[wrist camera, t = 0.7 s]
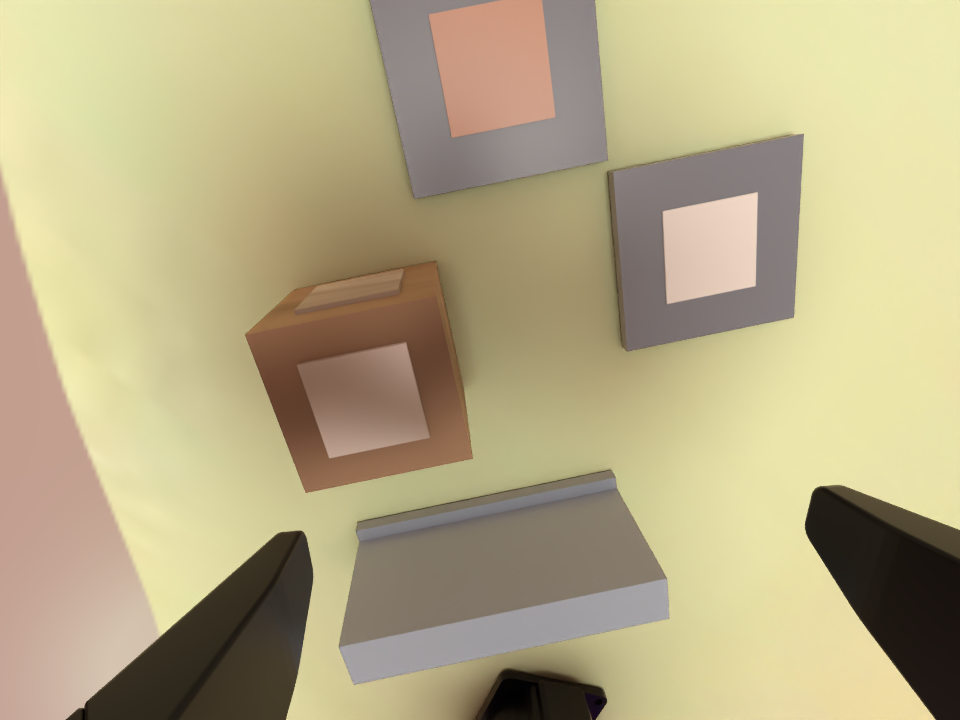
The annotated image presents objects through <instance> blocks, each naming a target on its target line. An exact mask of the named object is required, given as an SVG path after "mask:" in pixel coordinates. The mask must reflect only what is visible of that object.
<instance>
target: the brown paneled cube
mask: <svg viewBox="0 0 960 720" xmlns="http://www.w3.org/2000/svg"><path fill="white" fill-rule="evenodd" d="M245 336H246V338H247V341H248V344H249V346H250V349H251V352H252V354H253V357H254V359H255V362H256V365H257V367H258V370H259V372H260V375H261V378H262V380H263V383H264V385H265V388H266V391H267V393H268V396H269V398H270V401H271V404H272V406H273V409H274V412H275V414H276V417H277V419H278V422H279V425H280V427H281V430H282V432H283V435H284V438H285V440H286V443H287V445H288V448H289V451H290V453H291V456H292V458H293V461H294V464H295V466H296V469H297V472H298V474H299V477H300V479H301V482H302V485H303V487H304V490H305V492H306V493H308V492H312V491H317V490H322V489H327V488H332V487H337V486H342V485H347V484H351V483H356V482H361V481H366V480H371V479H376V478H381V477H385V476H390V475H395V474H400V473H405V472H410V471H415V470H419V469H424V468H429V467H434V466H439V465H444V464H449V463H454V462H458V461H463V460H468V459H473V457H472V449H471V441H470V434H469V426H468V418H467V410H466V402H465V395H464V388H463V383H462V378H461V374H460V369H459V365H458V360H457V355H456V351H455V346H454V342H453V337H452V332H451V328H450V323H449V319H448V314H447V310H446V305H445V300H444V296H443V291H442V287H441V282H440V277H439V273H438V268H437V264H436V261H433V262H428V263H423V264H418V265H413V266H408V267H403V268H398V269H393V270H388V271H383V272H378V273H374V274H369V275H364V276H359V277H354V278H349V279H344V280H339V281H334V282H329V283H324V284H319V285H314V286H309V287H304V288H299V289H294V290H293V291H292V292H291V293H290V294H289V295H288V296H287V297H286V298H285V299H284V300H282V301H281V302H280V303H279V304H278V305H277V306H276V307H275V308H274V309H273V310H272V311H270V312H269V313H268V314H267V315H266V316H265V317H264V318H263V319H262V320H261V321H260V322H258V323H257V324H256V325H255V326H254V327H253V328H252V329H251V330H250V331H249V332H247V333H246V334H245Z"/></svg>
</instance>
